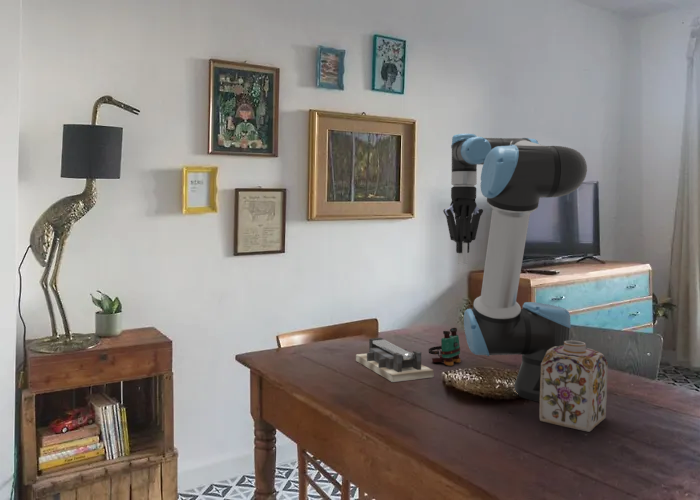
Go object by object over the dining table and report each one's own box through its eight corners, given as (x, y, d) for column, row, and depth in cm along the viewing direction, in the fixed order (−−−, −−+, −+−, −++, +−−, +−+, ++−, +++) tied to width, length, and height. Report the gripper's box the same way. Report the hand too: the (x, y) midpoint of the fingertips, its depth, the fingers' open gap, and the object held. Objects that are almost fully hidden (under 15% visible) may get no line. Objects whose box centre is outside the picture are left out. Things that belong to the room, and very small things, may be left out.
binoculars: (435, 326, 202) (463, 327, 196) (438, 359, 202) (466, 361, 196) (421, 331, 195) (449, 331, 189) (423, 365, 195) (452, 367, 189)
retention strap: (415, 359, 179) (415, 353, 179) (402, 361, 177) (402, 355, 177) (384, 343, 197) (384, 337, 197) (372, 344, 196) (372, 339, 196)
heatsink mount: (433, 377, 179) (433, 353, 178) (392, 382, 174) (392, 357, 173) (393, 356, 202) (393, 335, 201) (355, 360, 197) (356, 339, 196)
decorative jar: (537, 421, 143) (539, 343, 142) (556, 408, 152) (558, 334, 151) (591, 433, 136) (594, 350, 135) (607, 418, 145) (610, 341, 144)
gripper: (474, 186, 197) (473, 262, 199) (438, 186, 192) (437, 263, 194) (489, 186, 191) (487, 264, 192) (451, 185, 185) (450, 265, 187)
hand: (462, 263), depth 193 cm, fingers closed
